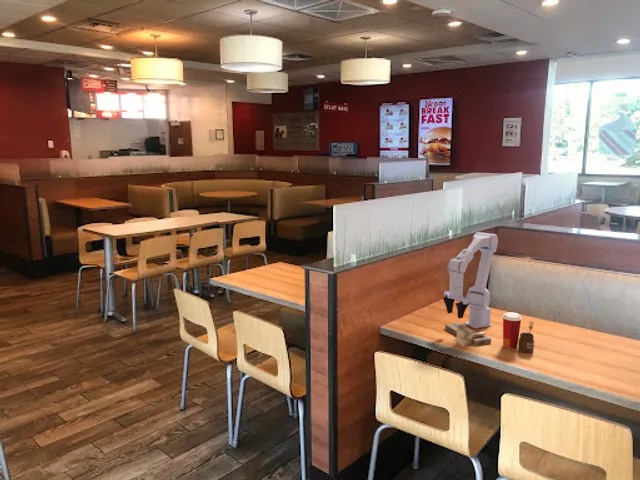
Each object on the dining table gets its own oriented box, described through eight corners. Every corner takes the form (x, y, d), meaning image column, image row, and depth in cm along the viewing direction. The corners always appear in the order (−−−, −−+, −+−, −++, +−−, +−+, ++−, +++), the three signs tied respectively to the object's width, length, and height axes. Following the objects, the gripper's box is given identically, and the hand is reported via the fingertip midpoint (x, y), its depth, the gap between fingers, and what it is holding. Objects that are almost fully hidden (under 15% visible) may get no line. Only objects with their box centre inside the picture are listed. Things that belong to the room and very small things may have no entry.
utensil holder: (515, 350, 212) (517, 322, 210) (523, 346, 215) (525, 319, 213) (528, 354, 207) (530, 326, 205) (536, 350, 211) (538, 323, 209)
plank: (459, 326, 240) (459, 322, 239) (490, 343, 219) (491, 338, 219) (445, 328, 237) (445, 324, 236) (475, 345, 216) (475, 341, 216)
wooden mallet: (480, 338, 225) (481, 325, 224) (486, 341, 221) (487, 328, 220) (456, 342, 220) (456, 329, 219) (462, 346, 216) (462, 332, 215)
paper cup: (520, 344, 217) (522, 313, 215) (519, 351, 211) (521, 318, 208) (501, 341, 221) (503, 310, 218) (499, 348, 214) (501, 316, 211)
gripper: (438, 282, 230) (437, 311, 232) (459, 291, 216) (457, 321, 219) (451, 281, 232) (450, 309, 235) (472, 289, 219) (471, 319, 222)
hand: (454, 315), depth 227 cm, fingers open, 7 cm apart
